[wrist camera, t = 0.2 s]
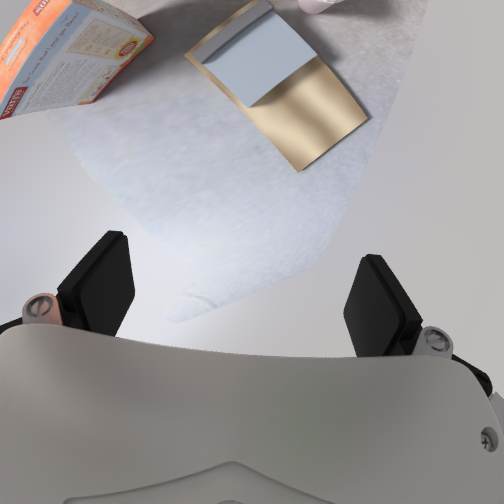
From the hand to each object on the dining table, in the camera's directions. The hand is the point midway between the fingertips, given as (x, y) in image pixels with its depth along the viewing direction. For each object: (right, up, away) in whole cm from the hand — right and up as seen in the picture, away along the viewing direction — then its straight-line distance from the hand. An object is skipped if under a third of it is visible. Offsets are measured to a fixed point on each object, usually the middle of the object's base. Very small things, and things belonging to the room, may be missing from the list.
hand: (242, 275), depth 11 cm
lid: (+1, +26, +19) cm, 32 cm away
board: (+4, +24, +22) cm, 32 cm away
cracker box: (-20, +29, +19) cm, 40 cm away
